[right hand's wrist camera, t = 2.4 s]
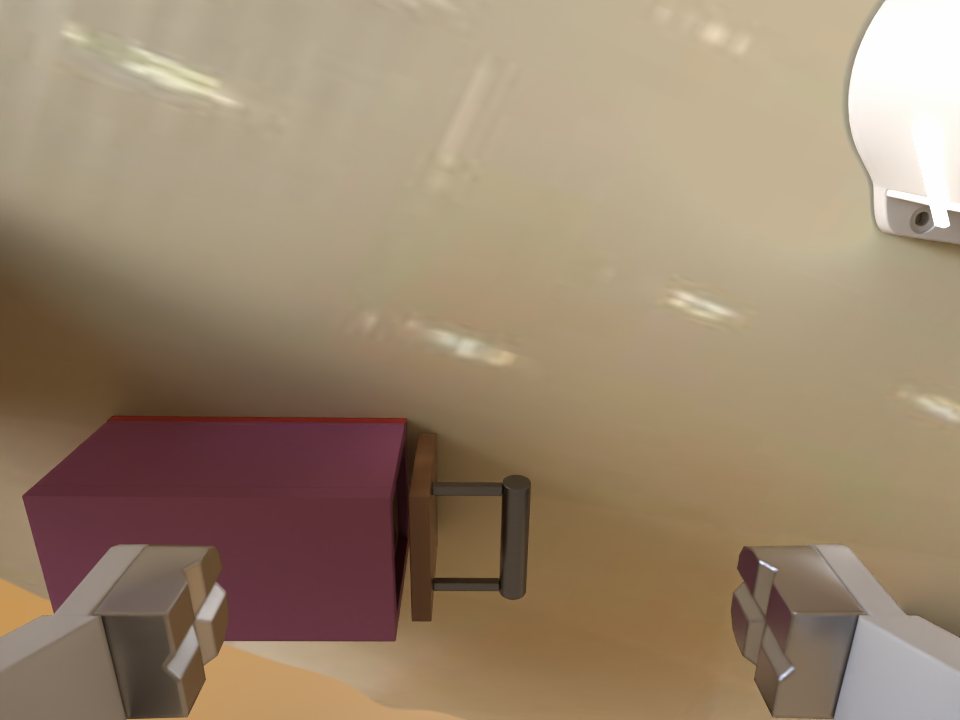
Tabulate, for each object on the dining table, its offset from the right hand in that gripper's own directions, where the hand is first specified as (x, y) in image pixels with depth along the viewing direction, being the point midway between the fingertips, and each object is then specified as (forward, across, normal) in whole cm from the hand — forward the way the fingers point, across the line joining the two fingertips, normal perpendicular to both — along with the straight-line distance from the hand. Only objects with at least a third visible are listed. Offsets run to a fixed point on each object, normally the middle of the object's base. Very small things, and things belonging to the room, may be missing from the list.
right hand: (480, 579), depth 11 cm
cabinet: (+33, -15, -18) cm, 40 cm away
